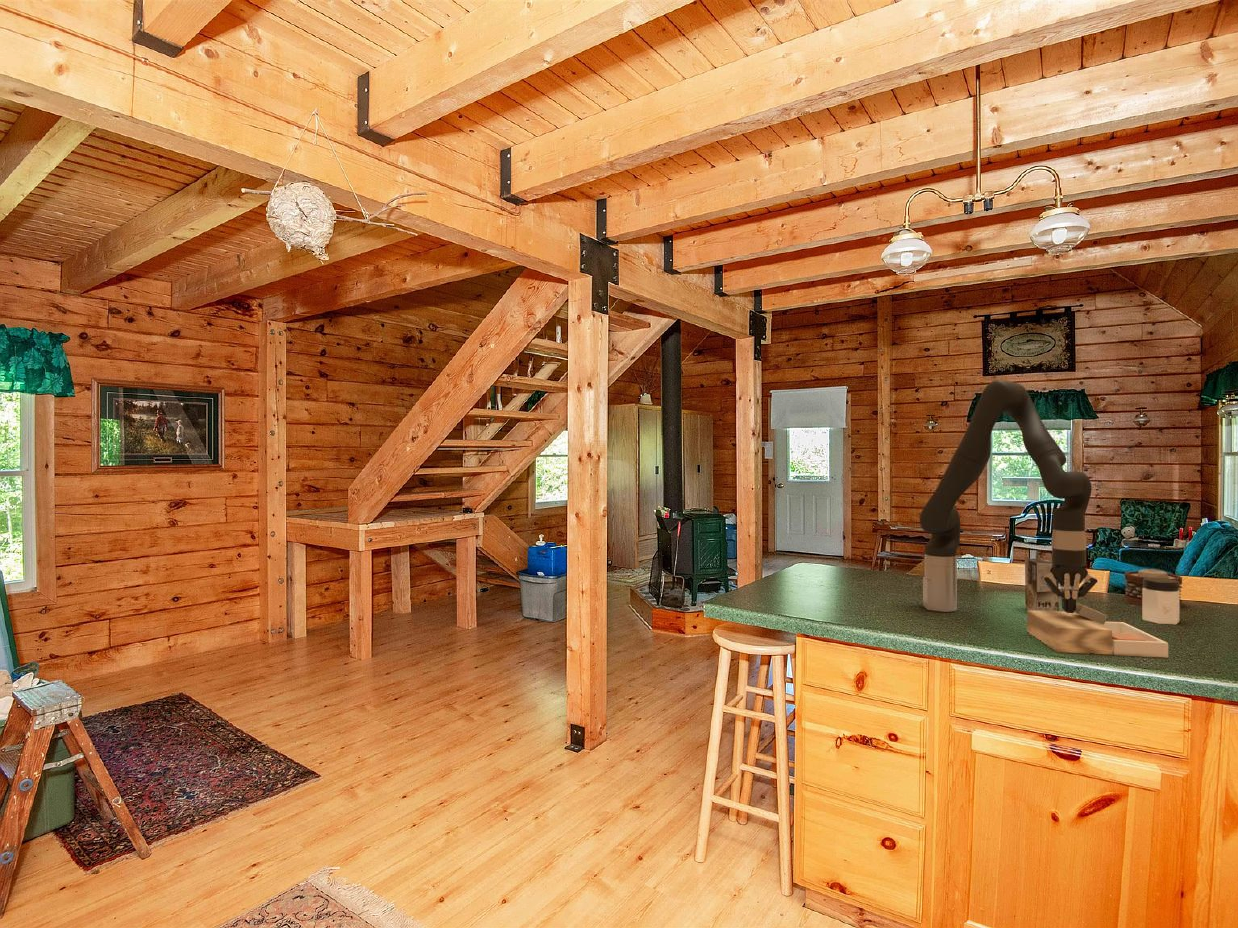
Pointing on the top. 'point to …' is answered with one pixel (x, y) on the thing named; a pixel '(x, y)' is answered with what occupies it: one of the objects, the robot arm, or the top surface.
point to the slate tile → (1090, 613)
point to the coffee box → (1039, 586)
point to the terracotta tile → (1126, 637)
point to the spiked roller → (1136, 584)
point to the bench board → (1069, 632)
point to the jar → (1160, 600)
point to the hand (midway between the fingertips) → (1069, 612)
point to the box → (1136, 642)
